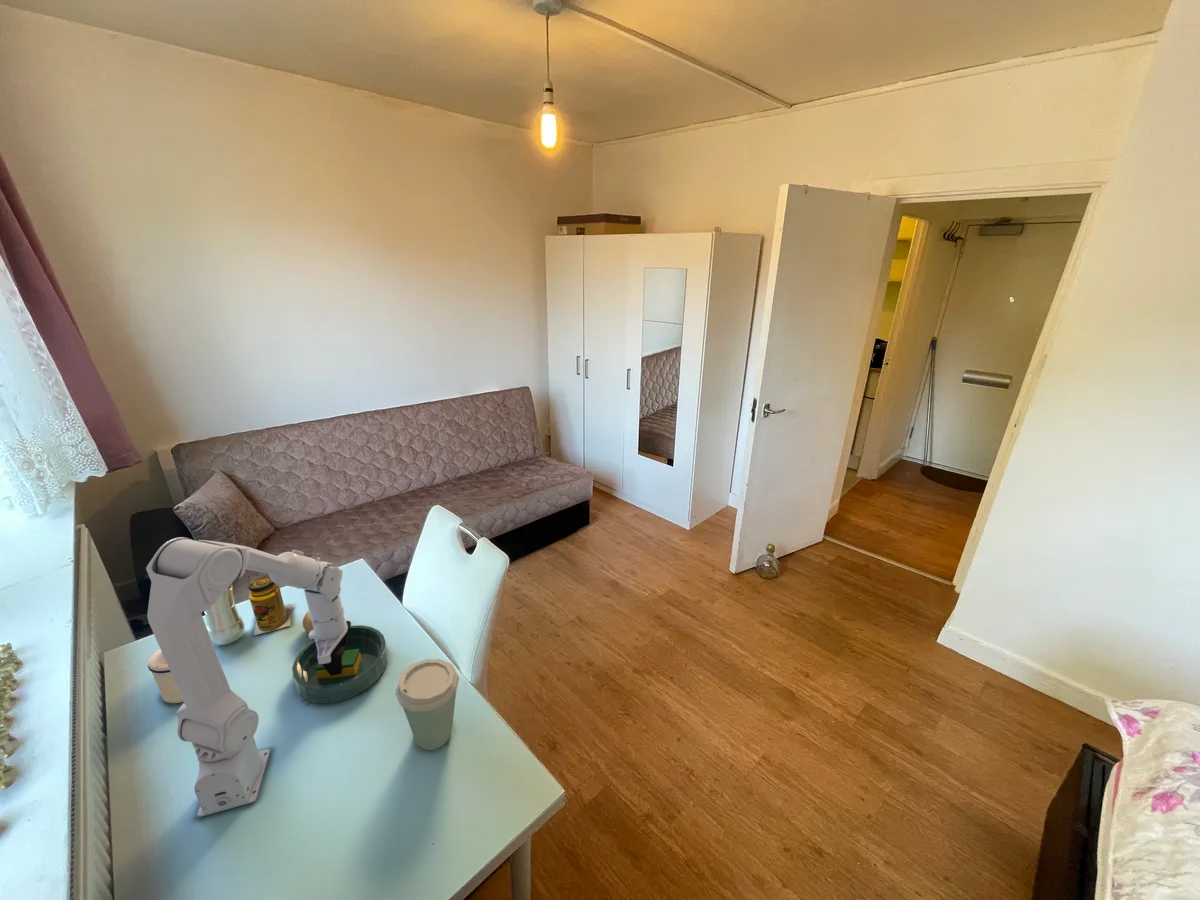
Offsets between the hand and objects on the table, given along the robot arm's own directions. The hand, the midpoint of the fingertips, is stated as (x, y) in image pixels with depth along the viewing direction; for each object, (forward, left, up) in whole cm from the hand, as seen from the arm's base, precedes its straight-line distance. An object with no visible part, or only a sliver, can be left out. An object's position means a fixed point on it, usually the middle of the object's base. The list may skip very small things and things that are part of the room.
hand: (338, 664), depth 104 cm
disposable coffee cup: (-22, -19, -2) cm, 29 cm away
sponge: (0, 0, -1) cm, 1 cm away
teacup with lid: (+6, +29, -2) cm, 30 cm away
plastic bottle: (+18, +25, -2) cm, 31 cm away
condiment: (+22, +17, -2) cm, 28 cm away
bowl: (0, -1, -2) cm, 2 cm away
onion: (+15, +5, -2) cm, 16 cm away
